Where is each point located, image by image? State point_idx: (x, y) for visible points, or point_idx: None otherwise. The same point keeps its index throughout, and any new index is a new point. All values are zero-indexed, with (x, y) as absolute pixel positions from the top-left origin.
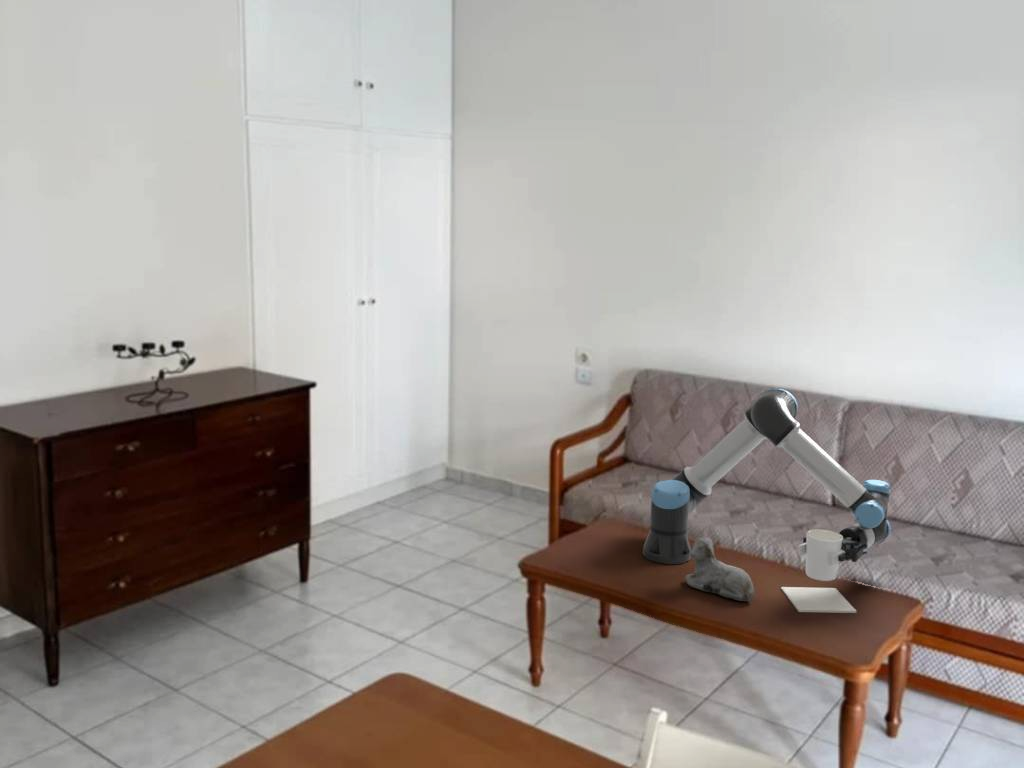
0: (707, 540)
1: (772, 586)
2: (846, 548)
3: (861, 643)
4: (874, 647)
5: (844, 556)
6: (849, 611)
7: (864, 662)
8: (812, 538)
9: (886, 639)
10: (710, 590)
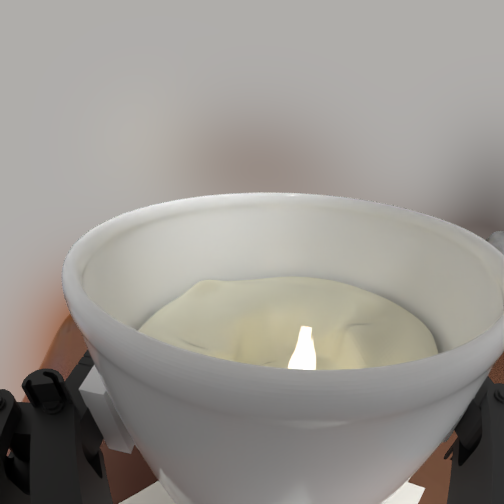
0: (497, 236)
1: (448, 478)
2: (69, 489)
3: (74, 362)
4: (51, 360)
5: (82, 360)
6: (124, 502)
7: (72, 317)
8: (305, 198)
9: (24, 398)
10: None
